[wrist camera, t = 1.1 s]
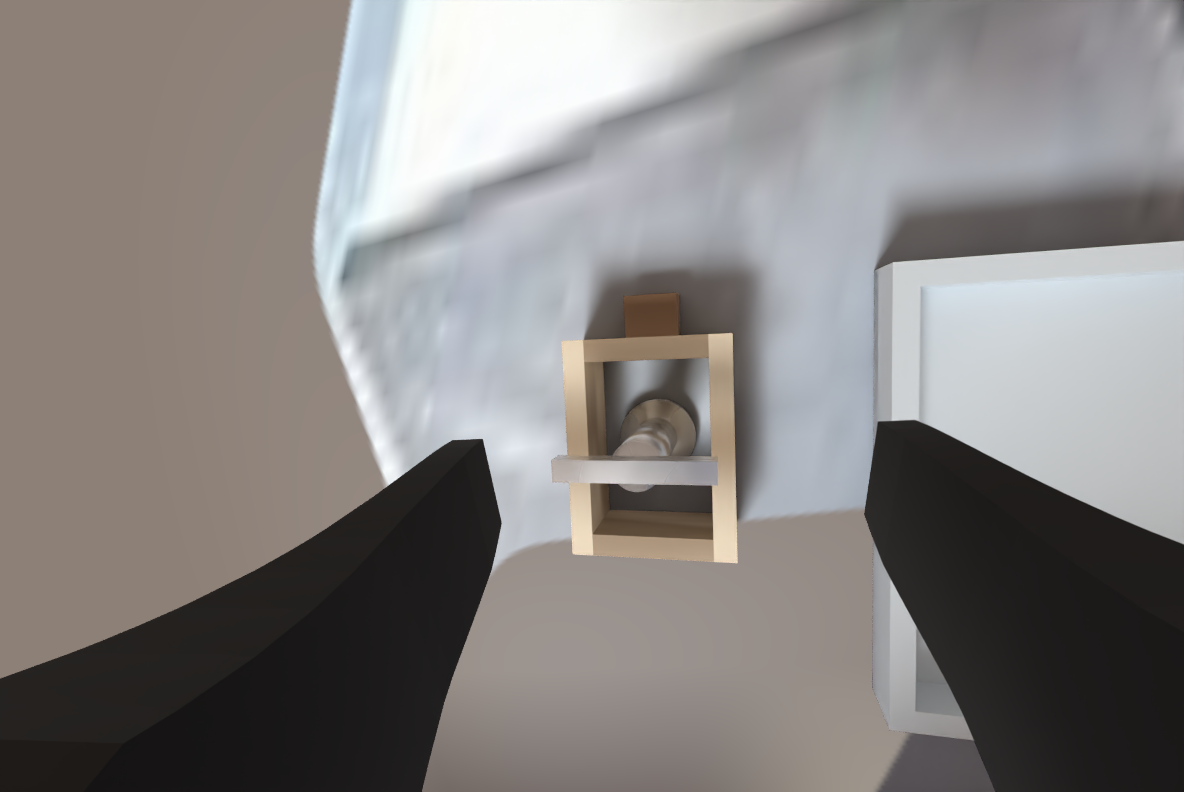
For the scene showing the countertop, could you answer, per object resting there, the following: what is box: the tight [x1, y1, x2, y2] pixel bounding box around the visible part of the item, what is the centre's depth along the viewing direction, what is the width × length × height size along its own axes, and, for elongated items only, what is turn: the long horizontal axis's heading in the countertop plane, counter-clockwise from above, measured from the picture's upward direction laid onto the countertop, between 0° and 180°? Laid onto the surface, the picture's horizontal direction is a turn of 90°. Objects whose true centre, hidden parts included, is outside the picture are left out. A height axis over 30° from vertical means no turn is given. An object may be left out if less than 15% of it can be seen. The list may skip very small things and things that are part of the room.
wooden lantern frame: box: [562, 293, 737, 563], centre depth 21 cm, size 10×6×3 cm, turn 3°
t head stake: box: [551, 399, 719, 492], centre depth 19 cm, size 3×5×6 cm, turn 93°
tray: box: [872, 241, 1184, 740], centre depth 17 cm, size 16×16×2 cm
